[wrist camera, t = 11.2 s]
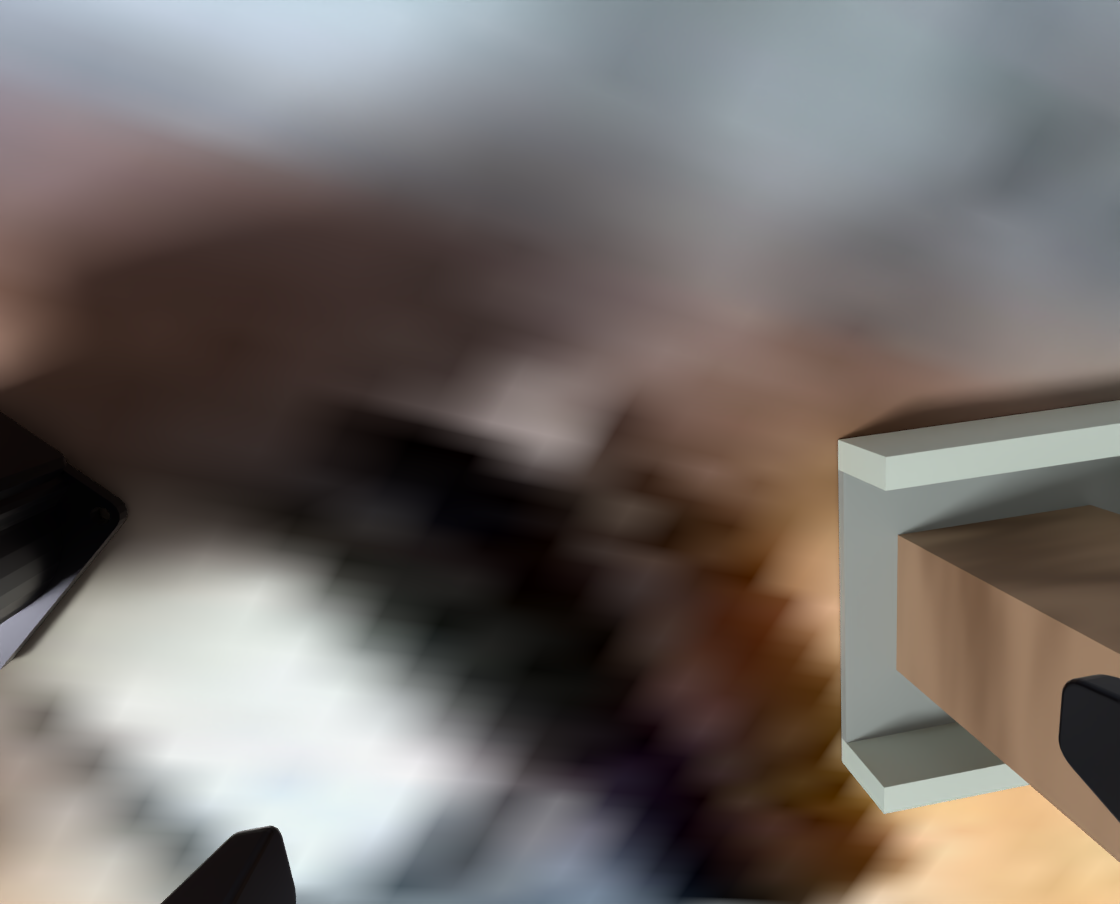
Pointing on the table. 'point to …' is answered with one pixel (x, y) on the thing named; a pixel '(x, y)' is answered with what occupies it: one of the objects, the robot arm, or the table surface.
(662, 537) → the table surface
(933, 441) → the bay
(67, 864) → the table surface
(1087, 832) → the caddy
